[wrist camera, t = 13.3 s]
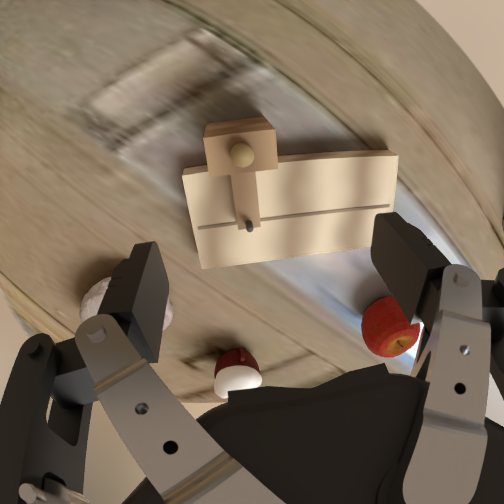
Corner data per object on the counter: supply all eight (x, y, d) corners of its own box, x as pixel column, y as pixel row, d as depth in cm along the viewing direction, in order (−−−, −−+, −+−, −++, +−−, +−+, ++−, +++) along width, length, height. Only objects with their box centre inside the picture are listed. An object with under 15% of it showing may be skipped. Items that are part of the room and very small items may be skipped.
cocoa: (233, 332, 40) (238, 409, 30) (271, 347, 42) (284, 419, 32) (199, 369, 44) (198, 439, 33) (235, 381, 46) (240, 448, 36)
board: (388, 149, 28) (398, 155, 26) (380, 234, 33) (388, 244, 31) (184, 168, 27) (181, 176, 25) (202, 258, 33) (202, 269, 31)
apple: (369, 282, 37) (394, 326, 31) (413, 287, 39) (439, 327, 32) (345, 325, 41) (362, 369, 35) (388, 326, 43) (408, 366, 36)
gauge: (263, 116, 25) (277, 131, 20) (271, 207, 30) (284, 244, 25) (206, 123, 25) (202, 140, 19) (220, 213, 30) (221, 252, 24)
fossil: (164, 288, 30) (178, 347, 36) (166, 261, 33) (178, 321, 39) (58, 293, 28) (88, 349, 34) (69, 268, 31) (94, 324, 37)
